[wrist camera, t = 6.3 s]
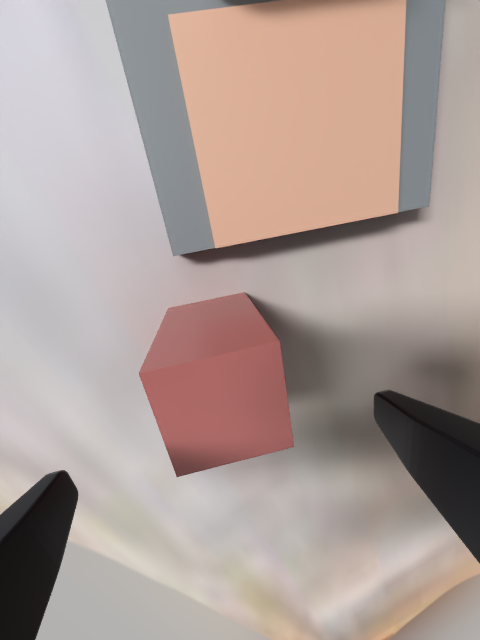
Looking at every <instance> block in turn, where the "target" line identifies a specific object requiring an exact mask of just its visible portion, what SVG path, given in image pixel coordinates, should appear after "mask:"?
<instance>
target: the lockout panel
mask: <svg viewBox="0 0 480 640" xmlns="http://www.w3.org/2000/svg"><path fill="white" fill-rule="evenodd" d="M106 3H107V7H108V11H109V14H110V18H111V22H112V26H113V29H114V33H115V37H116V41H117V45H118V48H119V52H120V56H121V60H122V64H123V67H124V71H125V75H126V79H127V83H128V86H129V90H130V94H131V98H132V102H133V105H134V109H135V113H136V117H137V120H138V124H139V128H140V132H141V136H142V139H143V143H144V147H145V151H146V155H147V158H148V162H149V166H150V170H151V174H152V177H153V181H154V185H155V189H156V192H157V196H158V200H159V204H160V208H161V211H162V215H163V219H164V223H165V227H166V230H167V234H168V238H169V242H170V246H171V249H172V253H173V256H176V255H181V254H186V253H192V252H197V251H202V250H207V249H212V248H220V247H225V246H230V245H236V244H241V243H246V242H251V241H256V240H261V239H266V238H271V237H277V236H282V235H287V234H292V233H297V232H302V231H307V230H313V229H318V228H323V227H328V226H333V225H338V224H343V223H348V222H354V221H359V220H364V219H369V218H374V217H379V216H384V215H390V214H395V213H398V212H402V211H407V210H412V209H418V208H423V207H428V206H429V203H430V190H431V177H432V164H433V151H434V138H435V126H436V113H437V100H438V87H439V74H440V61H441V49H442V36H443V23H444V10H445V0H106Z"/></svg>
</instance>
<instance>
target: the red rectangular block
mask: <svg viewBox="0 0 480 640" xmlns="http://www.w3.org/2000/svg"><path fill="white" fill-rule="evenodd" d="M139 375H140V378H141V381H142V384H143V386H144V389H145V392H146V394H147V397H148V400H149V402H150V405H151V408H152V411H153V413H154V416H155V419H156V421H157V424H158V427H159V430H160V432H161V435H162V438H163V440H164V443H165V446H166V449H167V451H168V454H169V457H170V459H171V462H172V465H173V468H174V470H175V473H176V476H177V477H179V476H183V475H187V474H191V473H194V472H198V471H202V470H206V469H210V468H214V467H218V466H221V465H225V464H229V463H233V462H237V461H241V460H245V459H249V458H252V457H256V456H260V455H264V454H268V453H272V452H276V451H280V450H283V449H287V448H291V447H294V443H293V436H292V428H291V421H290V413H289V406H288V398H287V391H286V383H285V376H284V368H283V361H282V354H281V346H280V341H279V340H278V338H277V337H276V335H275V334H274V333H273V331H272V330H271V328H270V327H269V326H268V324H267V323H266V321H265V320H264V319H263V317H262V316H261V314H260V313H259V312H258V310H257V309H256V307H255V306H254V305H253V303H252V302H251V300H250V299H249V298H248V296H247V295H246V293H245V292H244V293H239V294H234V295H230V296H225V297H220V298H215V299H210V300H206V301H201V302H196V303H191V304H186V305H182V306H177V307H172V308H168V310H167V312H166V315H165V317H164V319H163V321H162V323H161V326H160V328H159V330H158V332H157V334H156V337H155V339H154V341H153V343H152V345H151V348H150V350H149V352H148V354H147V356H146V359H145V361H144V363H143V365H142V367H141V370H140V372H139Z"/></svg>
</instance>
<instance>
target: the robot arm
mask: <svg viewBox="0 0 480 640" xmlns="http://www.w3.org/2000/svg"><path fill="white" fill-rule="evenodd" d="M374 418H375V420H376V422H377V424H378V426H379V427H380V429H381V430H382V432H383V433H384V435H385V437H386V438H387V440H388V441H389V443H390V444H391V446H392V447H393V449H394V450H395V452H396V454H397V455H398V457H399V458H400V460H401V461H402V463H403V464H404V466H405V467H406V469H407V470H408V472H409V473H410V474H411V476H412V477H413V478H414V480H415V481H416V482H417V484H418V485H419V486H420V488H421V489H422V490H423V491H424V493H425V494H426V495H427V497H428V498H429V499H430V500H431V502H432V503H433V504H434V506H435V507H436V508H437V509H438V511H439V512H440V513H441V515H442V516H443V517H444V518H445V520H446V521H447V522H448V523H449V525H450V526H451V527H452V529H453V530H454V531H455V532H456V534H457V535H458V536H459V538H460V539H461V540H462V541H463V543H464V544H465V545H466V547H467V548H468V549H469V550H470V552H471V553H472V554H473V556H474V557H475V558H476V559H477V561H478V562H479V563H480V423H477V422H474V421H472V420H469V419H466V418H464V417H461V416H458V415H455V414H453V413H450V412H447V411H445V410H442V409H439V408H437V407H434V406H431V405H429V404H426V403H423V402H421V401H418V400H415V399H413V398H410V397H407V396H405V395H402V394H399V393H397V392H394V391H391V390H384V391H380V392H377V393H375V395H374ZM77 501H78V490H77V488H76V486H75V484H74V483H73V481H72V479H71V477H70V476H69V474H68V473H67V472H66V471H65V470H61V471H57V472H52V473H49V474H47V475H46V476H44V477H43V478H42V479H41V480H40V481H39V482H37V483H36V484H35V485H34V486H33V487H32V488H31V489H29V490H28V491H27V492H26V493H25V494H24V495H23V496H21V497H20V498H19V499H18V500H17V501H16V502H14V503H13V504H12V505H11V506H10V507H9V508H8V509H6V510H5V511H4V512H3V513H2V514H1V515H0V640H35V639H36V636H37V633H38V630H39V627H40V625H41V622H42V619H43V616H44V613H45V610H46V607H47V604H48V602H49V599H50V596H51V593H52V590H53V587H54V584H55V581H56V578H57V575H58V572H59V569H60V566H61V562H62V558H63V555H64V551H65V547H66V543H67V540H68V536H69V532H70V528H71V524H72V520H73V516H74V513H75V509H76V505H77Z"/></svg>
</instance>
